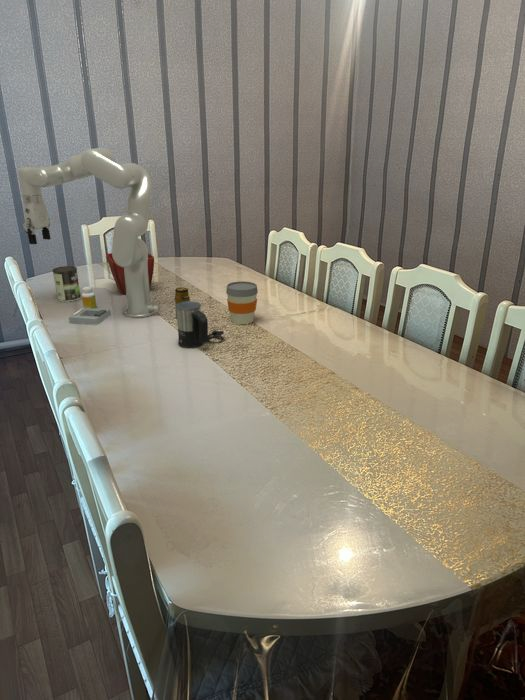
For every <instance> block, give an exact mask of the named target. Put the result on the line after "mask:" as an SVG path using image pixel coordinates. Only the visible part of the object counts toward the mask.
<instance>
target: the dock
mask: <svg viewBox="0 0 525 700" xmlns="http://www.w3.org/2000/svg"><path fill="white" fill-rule="evenodd" d="M87 315H88V316H87ZM108 316H109V317H111V309H110V308H109V309H108V308H97V309H95V308H83V307H82V308H80V309H79V310H78V311H77V310H76V312H74V313H73V314H71V315H70V316H68V323H69V322H72V323H71V324H76V323H85V324H84V325H89V324H98V323H99V324H101V323H102V322H103V321H105V320H106V319H108V318H109V317H108ZM105 318H106V319H105ZM104 319H105V320H104ZM102 320H103V321H102ZM101 321H102V322H101ZM100 322H101V323H100ZM99 324H98V325H99Z"/></svg>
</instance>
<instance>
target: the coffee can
mask: <svg viewBox="0 0 525 700" xmlns="http://www.w3.org/2000/svg"><path fill="white" fill-rule="evenodd" d="M77 270H78V269H77V267H76V266H72V265H71V266H70V265H66V266H58V267H55V268H53V269H52V274H53V280H54V283H55V284H54V285H55V291H56V296H57V301H58V302H60V301H62V302H61V303H70V302H69V301H72V302H76V301H75V300H77V301H78V299H79V300H81V299H82V295H81V290H80V284H79V275H78V271H77Z"/></svg>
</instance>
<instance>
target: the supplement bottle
mask: <svg viewBox="0 0 525 700" xmlns="http://www.w3.org/2000/svg"><path fill="white" fill-rule="evenodd" d="M81 290H82V293H81V299H82V308H95V309H98V308H97V302H96V301H97V300H96V294H95V292H94V291H93V287H92V286H84V287H82V289H81Z"/></svg>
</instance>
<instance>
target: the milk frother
mask: <svg viewBox="0 0 525 700" xmlns="http://www.w3.org/2000/svg"><path fill="white" fill-rule="evenodd" d="M201 306H202V304H201V303H200V302H198V301H191V300H190V301H188V302H181V303H178V304H176V305H175V304H174V308H175V307H176V309H175V313H176V312H177V319H176V322H177V323H176V325H177V333H178V334H177V335H178V342H177V344H178V346H180V347H182V348H186V349H187V348H188V349H189V348H197V347H199V346H200V347H201V346H202V345H203V344H205V343H207V342H208V341H210V340H213V339H215V338H219V337H221V336H222V335H224V334H225V332H224V331H223V330H216V329H215V330H213V331H212V332H211V333H208V331H209V329H208V328H209V325H208V324H209V323H208V318H207V316H206V314H205V313H204V312H203V311H202V309H201V308H202V307H201Z"/></svg>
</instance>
